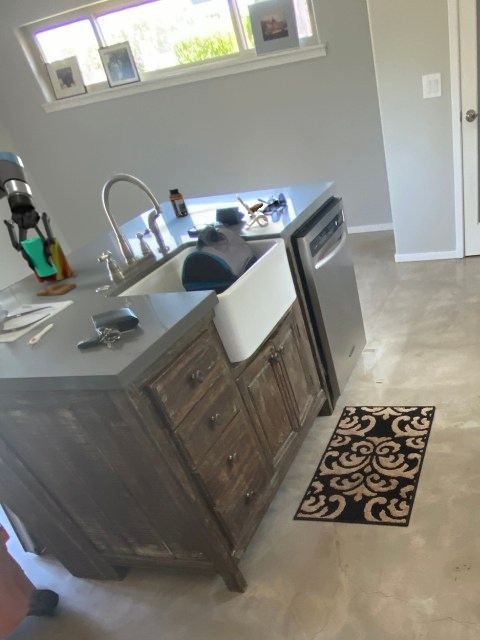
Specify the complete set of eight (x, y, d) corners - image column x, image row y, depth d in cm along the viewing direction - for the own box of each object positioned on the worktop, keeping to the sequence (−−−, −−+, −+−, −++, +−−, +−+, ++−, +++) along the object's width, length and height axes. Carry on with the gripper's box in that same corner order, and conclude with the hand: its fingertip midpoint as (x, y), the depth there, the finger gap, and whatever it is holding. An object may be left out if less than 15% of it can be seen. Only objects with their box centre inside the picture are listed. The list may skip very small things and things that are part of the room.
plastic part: (269, 225, 213) (261, 193, 206) (245, 230, 211) (237, 197, 204) (265, 221, 219) (258, 190, 211) (242, 226, 217) (234, 194, 209)
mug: (41, 286, 184) (21, 250, 176) (49, 275, 194) (31, 240, 186) (69, 281, 186) (51, 244, 178) (75, 270, 196) (58, 235, 188)
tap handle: (278, 193, 246) (252, 209, 225) (280, 201, 248) (254, 217, 227) (272, 194, 247) (245, 210, 226) (274, 201, 249) (247, 218, 228)
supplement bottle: (174, 216, 250) (165, 189, 243) (186, 213, 252) (177, 186, 245) (178, 218, 246) (168, 190, 239) (190, 215, 248) (181, 187, 241)
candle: (61, 269, 176) (41, 231, 168) (50, 275, 171) (29, 236, 163) (45, 271, 177) (25, 232, 169) (35, 277, 172) (13, 238, 164)
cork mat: (37, 296, 176) (35, 293, 175) (52, 287, 182) (51, 284, 181) (61, 294, 174) (60, 291, 173) (76, 286, 180) (75, 283, 179)
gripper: (54, 203, 175) (74, 266, 174) (-1, 213, 172) (18, 278, 171) (43, 187, 168) (64, 253, 167) (-15, 198, 165) (5, 266, 164)
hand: (41, 266), depth 169 cm, fingers closed on candle, 5 cm apart
